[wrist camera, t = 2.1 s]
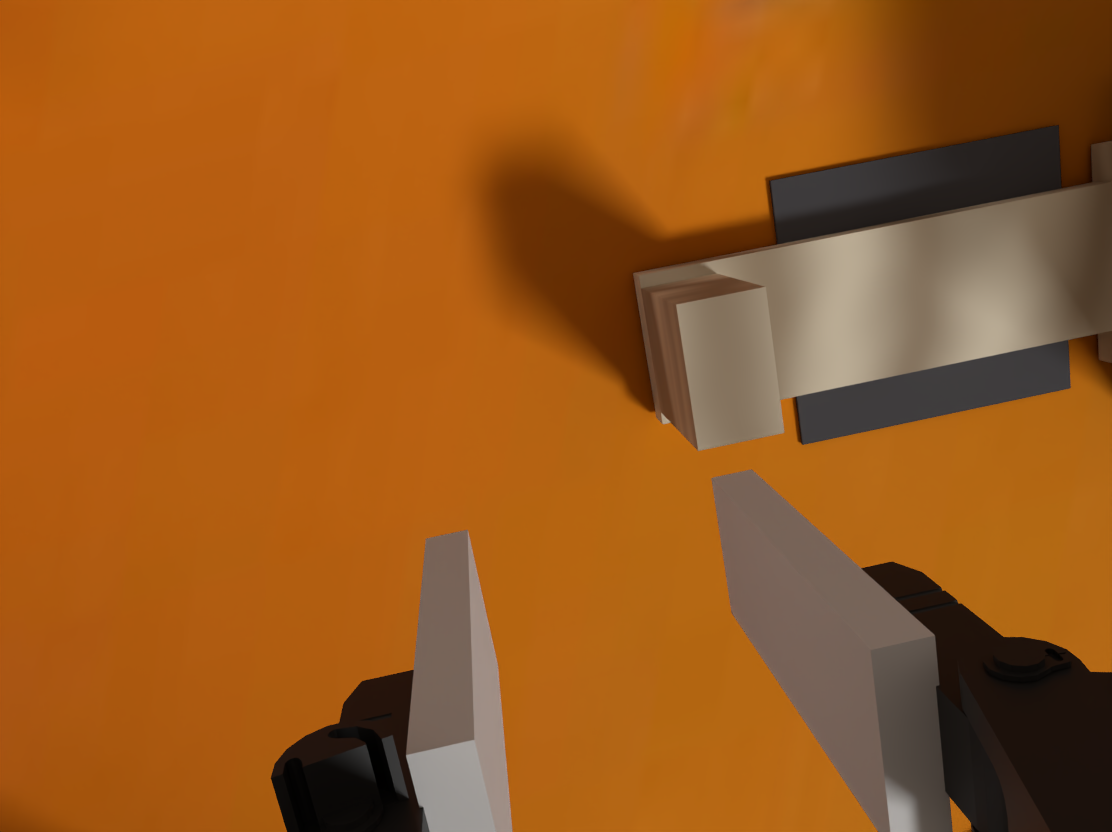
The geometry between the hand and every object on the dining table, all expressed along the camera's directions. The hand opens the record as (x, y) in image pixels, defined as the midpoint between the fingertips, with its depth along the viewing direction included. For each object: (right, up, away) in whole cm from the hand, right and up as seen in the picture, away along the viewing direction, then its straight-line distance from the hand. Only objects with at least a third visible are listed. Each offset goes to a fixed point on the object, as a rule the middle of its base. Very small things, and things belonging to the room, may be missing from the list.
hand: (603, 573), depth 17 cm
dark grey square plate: (+14, +8, +21) cm, 27 cm away
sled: (+12, +8, +21) cm, 26 cm away
